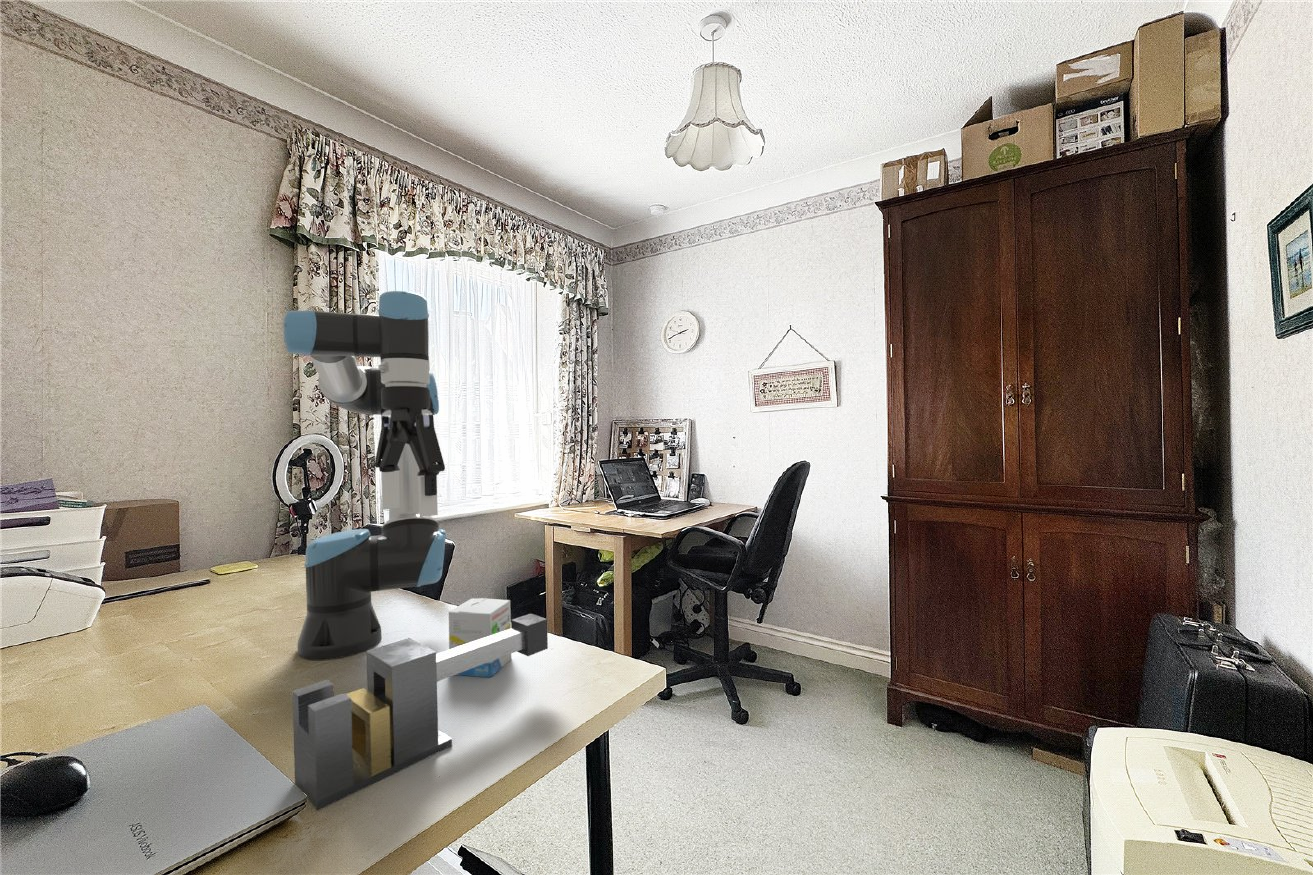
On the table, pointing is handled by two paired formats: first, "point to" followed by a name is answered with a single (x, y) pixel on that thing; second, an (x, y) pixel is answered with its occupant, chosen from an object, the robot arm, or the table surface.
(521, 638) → the shaft
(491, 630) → the ink box
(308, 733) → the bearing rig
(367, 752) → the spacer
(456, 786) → the table surface
